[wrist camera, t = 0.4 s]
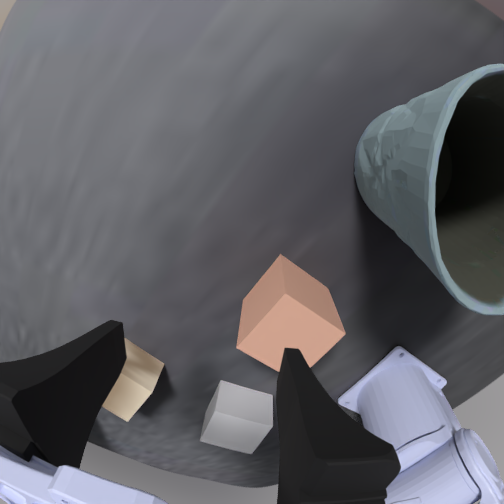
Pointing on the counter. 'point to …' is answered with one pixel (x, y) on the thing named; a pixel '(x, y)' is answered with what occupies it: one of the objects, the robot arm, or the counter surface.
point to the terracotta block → (288, 316)
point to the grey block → (237, 418)
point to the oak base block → (133, 382)
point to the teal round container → (444, 183)
